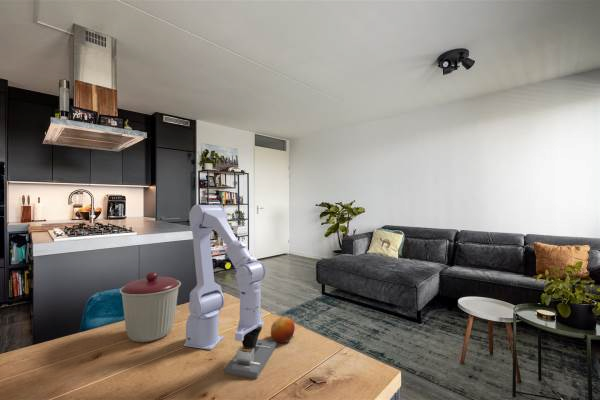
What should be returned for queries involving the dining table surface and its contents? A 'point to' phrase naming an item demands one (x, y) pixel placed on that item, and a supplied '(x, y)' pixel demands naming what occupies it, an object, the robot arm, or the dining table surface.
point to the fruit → (282, 330)
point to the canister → (149, 307)
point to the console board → (260, 360)
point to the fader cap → (245, 356)
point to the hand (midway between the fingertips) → (249, 354)
